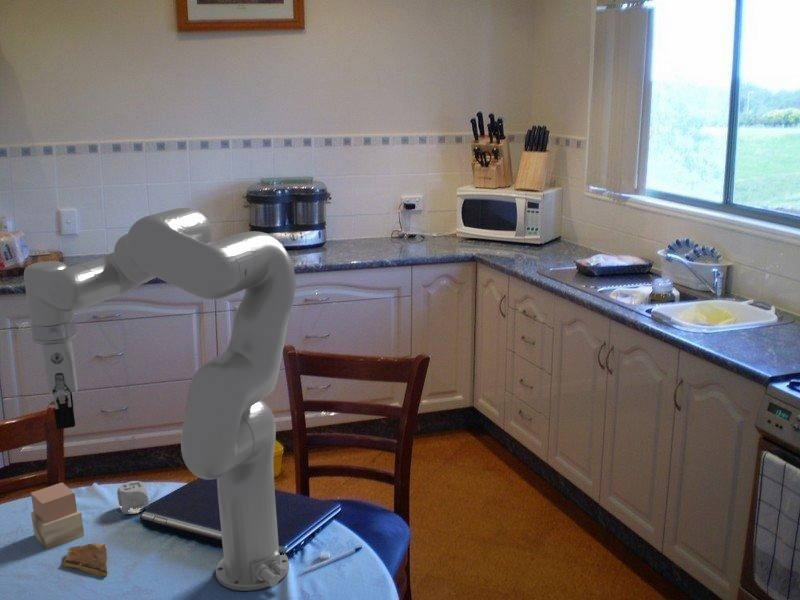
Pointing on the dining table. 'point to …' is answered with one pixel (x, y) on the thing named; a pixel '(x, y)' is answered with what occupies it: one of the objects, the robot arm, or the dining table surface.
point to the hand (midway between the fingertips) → (65, 417)
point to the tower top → (53, 502)
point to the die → (132, 496)
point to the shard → (88, 558)
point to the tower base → (58, 529)
